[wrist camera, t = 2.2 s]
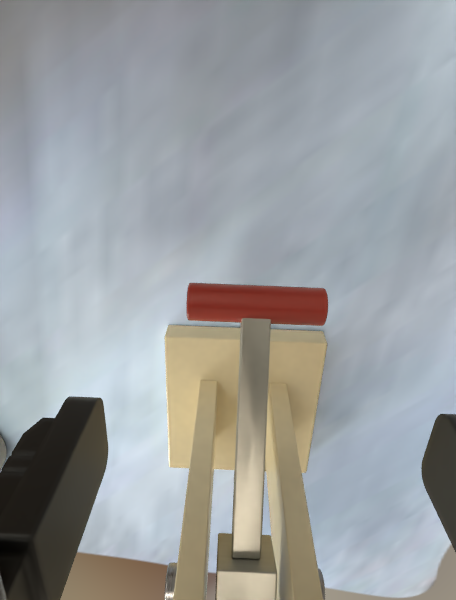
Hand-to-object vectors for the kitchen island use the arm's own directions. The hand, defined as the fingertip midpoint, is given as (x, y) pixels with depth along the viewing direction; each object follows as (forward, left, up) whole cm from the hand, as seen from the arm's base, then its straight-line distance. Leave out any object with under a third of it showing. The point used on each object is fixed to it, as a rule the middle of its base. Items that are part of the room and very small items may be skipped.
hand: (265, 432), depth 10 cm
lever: (+6, 0, -5) cm, 8 cm away
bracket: (+10, 0, -14) cm, 17 cm away
